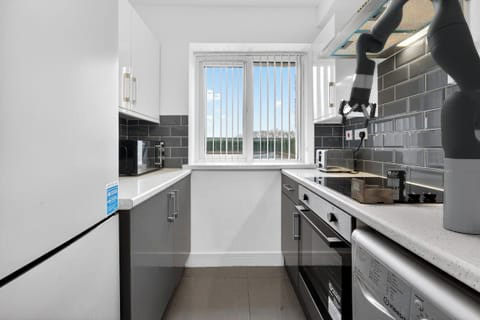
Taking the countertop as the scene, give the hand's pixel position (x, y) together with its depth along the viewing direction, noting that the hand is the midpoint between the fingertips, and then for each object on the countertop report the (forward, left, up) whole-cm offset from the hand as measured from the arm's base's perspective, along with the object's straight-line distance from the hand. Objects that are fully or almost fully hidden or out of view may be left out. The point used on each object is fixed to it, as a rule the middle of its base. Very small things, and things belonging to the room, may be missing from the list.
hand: (353, 126), depth 127 cm
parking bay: (-10, +7, -29) cm, 31 cm away
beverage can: (-17, +2, -29) cm, 34 cm away
